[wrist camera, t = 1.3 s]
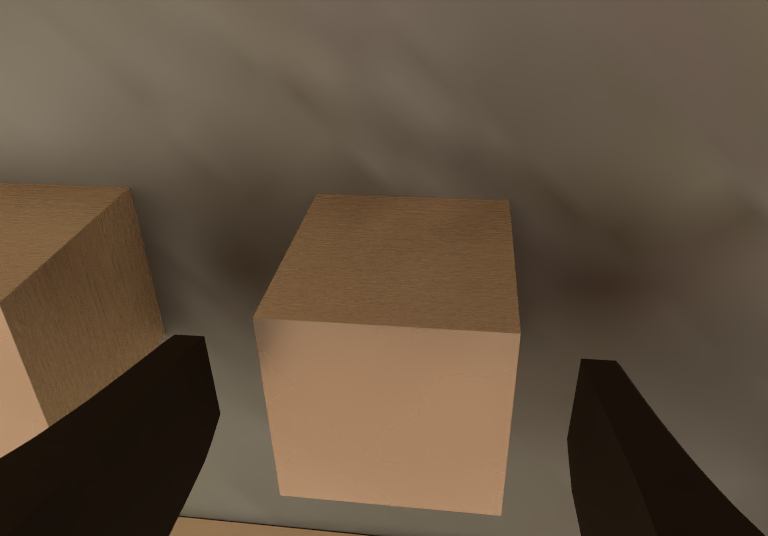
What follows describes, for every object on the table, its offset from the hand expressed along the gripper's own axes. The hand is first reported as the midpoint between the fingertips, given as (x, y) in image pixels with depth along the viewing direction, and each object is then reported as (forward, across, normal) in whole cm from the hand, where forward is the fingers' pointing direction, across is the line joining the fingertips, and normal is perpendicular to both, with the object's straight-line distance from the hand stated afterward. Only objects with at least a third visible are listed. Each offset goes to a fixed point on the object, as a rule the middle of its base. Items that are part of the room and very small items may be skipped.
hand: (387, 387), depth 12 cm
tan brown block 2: (+4, 0, 0) cm, 4 cm away
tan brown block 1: (+4, +9, 0) cm, 10 cm away
